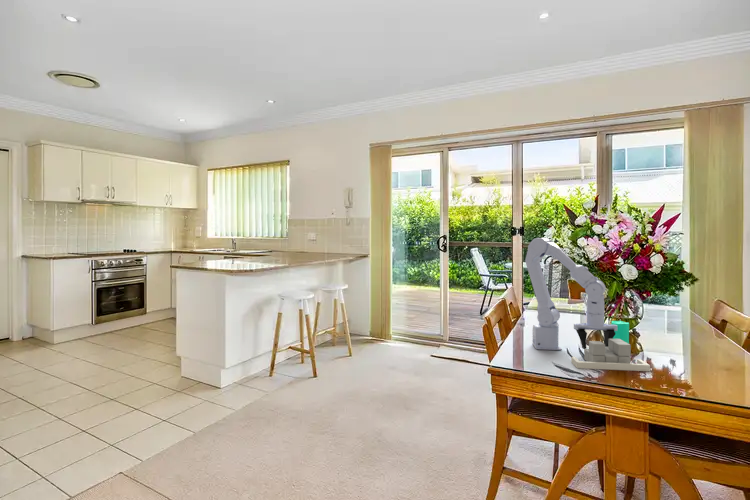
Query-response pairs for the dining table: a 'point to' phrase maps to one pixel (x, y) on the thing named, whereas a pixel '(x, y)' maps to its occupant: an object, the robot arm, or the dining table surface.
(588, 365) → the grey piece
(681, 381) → the dining table surface
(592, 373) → the dining table surface
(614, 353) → the grey stepped blocky piece
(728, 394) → the dining table surface
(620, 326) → the candle
